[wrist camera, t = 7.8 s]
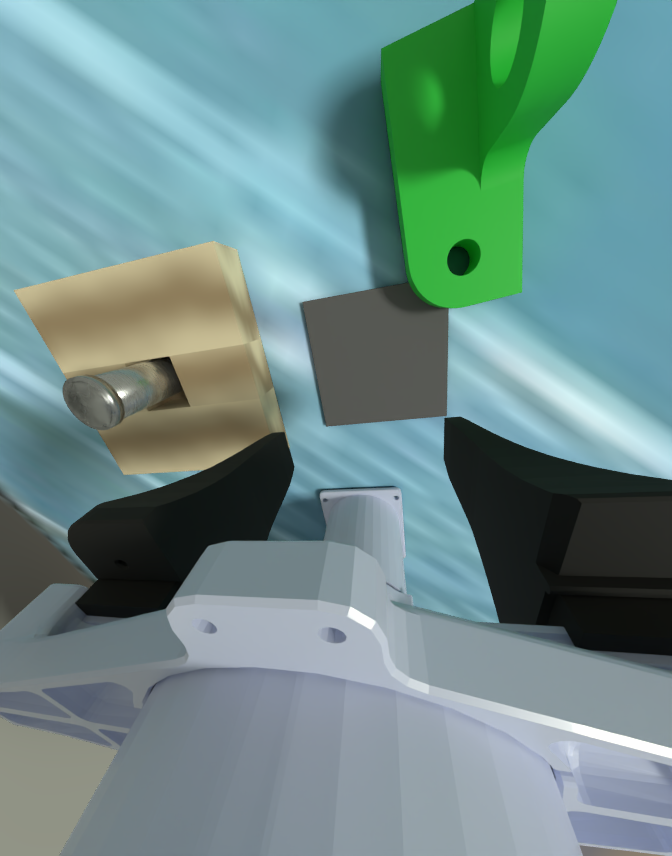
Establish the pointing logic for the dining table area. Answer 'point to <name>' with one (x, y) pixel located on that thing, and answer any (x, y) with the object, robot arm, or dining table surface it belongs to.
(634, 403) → the dining table surface
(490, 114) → the mechanical part
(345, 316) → the mat
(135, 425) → the socket block
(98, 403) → the pin
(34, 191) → the dining table surface
